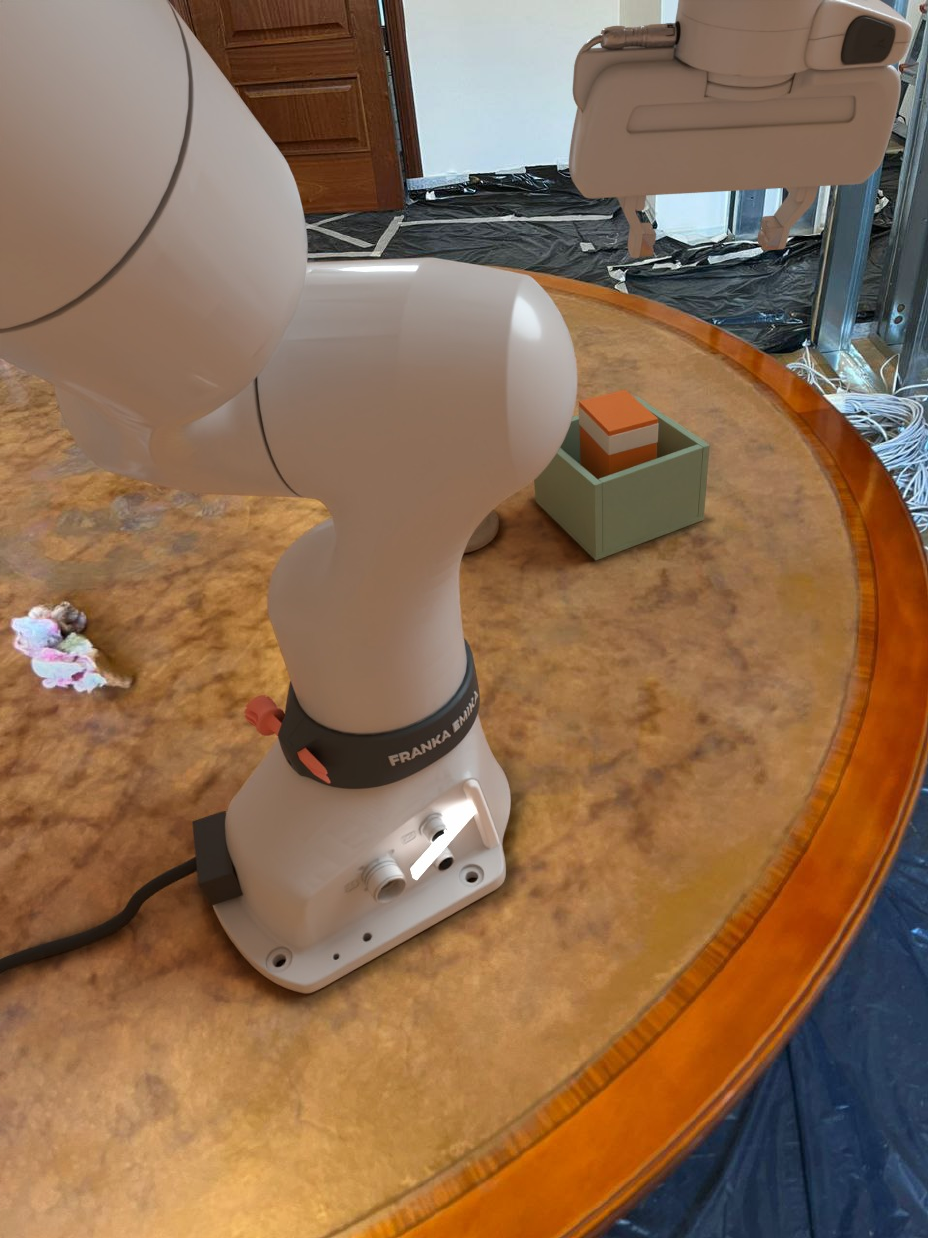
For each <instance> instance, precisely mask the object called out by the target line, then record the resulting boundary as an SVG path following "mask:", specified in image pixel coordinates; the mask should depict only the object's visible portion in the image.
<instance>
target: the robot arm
mask: <svg viewBox="0 0 928 1238" xmlns="http://www.w3.org/2000/svg"><path fill="white" fill-rule="evenodd" d="M675 15H676V16H675V22H665V23H654V24H653V23H652V24H645V25H641V26H640V25H639V26H629V27H626V26H624V25H612V26H607V27H604V28H602V29H601V31H600V34H598V35H596V36H593V37H591V38H590V39H589V40H587V41H586V42H585V43H584V44H583V45H582V47H581V48H580V50H579V51H578V53H577V55H576V57H575V60H574V64H573V77H572V97H573V101H574V104H575V105H576V107H577V108H576V112H575V117H574V122H573V127H572V132H571V139H570V146H569V154H568V170H569V175H570V178H571V181H572V183H573V184H574V186H575V187H576V188H577V190H578V191H579V193H581V195H582V196H583V197H584V198H585V199H605V198H606V199H607V198H617V201H618V203H619V205H620V207H621V210H622V212H623V215H624V217H625V219H626V220H627V223H628V225H629V230H628V239H627V251H628V254H629V256H630V258H631V259H638V258H652V257H653V256H654V252H655V249H654V245H656V240H657V233H656V230H655V229H654V228H653V227H654V226H653V224H652V222H641V220H640V219H639V216H638V214H637V213H636V211H637V212H638V211H639V212H642V211H644V210H645V206H646V200H647V196H660V195H681V194H699V193H701V194H702V193H717V192H738V191H754V190H755V191H756V190H757V191H758V190H771V189H772V190H776V189H785V190H786V191H787V192H788V193H789V194H788V195H787V196H786V197H785V199H784V200H783V202H782V203H781V204H780V206H779V207H778V209H777V210H776V211H775V213H774V214H773V215H766V216H765V215H764V216H763V215H762V217H761V221H760V225H759V226H760V228H761V229H760V230H759V231H758V233H757V244H758V245H759V246H760V247H761V250H762V251H775V250H776V251H777V250H785V248H786V246H787V243H788V239H789V235H790V232H791V228H792V227H794V226H795V224H796V223H798V221H799V220H800V219H801V218H802V216H803V215H804V214H805V213H806V212H807V211H808V210H809V209H810V207H811V206H812V205H813V204H814V203H815V201H816V198H817V195H818V191H819V188H820V187H827V186H828V187H830V186H848V185H849V186H850V185H861V184H864V183H865V182H866V181H867V180H868V179H869V178H870V177H871V176H872V175H873V174H875V172H876V171H877V170H878V169H879V168H880V167H881V164H882V162H883V161H884V157H885V154H886V152H887V149H888V145H889V142H890V139H891V135H892V133H893V128H894V124H895V121H896V117H897V112H898V108H899V102H900V98H901V90H902V82H901V77H900V76H901V75H900V73H899V72H898V70H897V69H896V67H895V66H894V65H896V64H897V63H899V62H901V60H902V59H903V58H904V57H905V55H906V53H907V51H908V49H909V48H910V47H909V46H910V43H911V40H912V37H913V26H912V25H911V23H910V22H908V20H907V19H906V18H905V17H903V15H901V14H900V13H899V12H898V11H897V10H895V8H893V7H891V6H890V5H888V4H887V3H885V2H884V1H882V0H678V2H677V9H676V14H675ZM596 45H600V47H594V46H596ZM306 223H307V222H306V219H305V214H304V209H303V204H302V199H301V196H300V192H299V189H298V185H297V182H296V180H295V177H294V175H293V172H292V171H291V168H290V165H289V163H288V162H287V159H286V158H285V156H284V155H283V154H282V152H281V151H280V149H279V147H278V146H277V145H276V144H275V142H274V141H273V140H272V139H271V137H270V135H269V134H268V133H267V132H266V131H265V129H264V128H263V126H262V125H261V123H260V122H259V120H258V119H257V118H256V116H255V115H254V114H253V113H252V111H251V110H250V109H249V107H248V106H247V105H246V103H245V102H244V101H243V99H242V98H241V96H240V94H238V92H237V91H236V90H235V88H234V86H233V85H232V84H231V83H230V82H229V79H227V77H226V76H225V75H224V73H223V72H222V71H221V69H220V68H219V66H218V65H217V64H216V62H215V61H214V60H213V59H212V57H211V56H210V54H209V53H208V51H207V50H206V49H205V48H204V46H203V44H201V42H200V41H199V40H198V38H197V37H196V36H195V34H194V33H193V32H192V30H191V29H190V28H189V26H188V25H187V23H186V22H185V21H184V19H183V18H182V16H181V15H180V14H179V12H178V11H177V10H176V8H175V7H174V5H172V3H171V1H169V0H0V359H1V360H3V361H5V362H7V363H9V364H11V365H13V366H14V367H17V368H18V369H21V370H23V371H24V372H26V373H29V374H30V375H33V376H34V377H36V378H37V379H40V380H43V381H44V382H47V383H48V384H51V385H52V386H53V389H54V394H55V399H56V402H57V405H58V409H59V412H60V415H61V417H62V419H63V422H64V425H65V426H66V429H67V430H68V432H69V434H70V436H71V437H72V438H73V440H74V442H75V443H76V445H77V446H78V448H79V449H80V450H81V451H82V453H83V454H84V455H85V456H86V457H87V458H88V459H89V460H90V461H91V462H92V463H93V464H95V465H96V466H98V467H99V468H101V469H102V470H104V471H106V472H108V473H111V474H114V475H118V476H121V477H124V478H128V479H130V480H131V479H132V480H134V481H139V482H142V483H146V484H150V485H154V486H158V487H162V488H166V489H170V490H171V489H172V490H175V491H181V492H185V493H190V494H194V495H213V496H215V495H216V496H242V497H266V498H267V497H268V498H269V497H271V498H294V499H295V498H299V499H309V500H316V501H318V502H320V503H321V504H322V505H323V506H324V507H325V508H326V509H327V510H328V512H329V514H330V517H328V518H326V519H324V520H322V521H320V522H319V523H316V524H315V525H313V526H311V528H310V529H308V530H307V531H305V532H304V533H302V534H301V535H300V536H299V537H298V538H297V539H295V540H294V541H292V543H291V544H290V545H289V546H287V548H286V549H285V550H284V551H283V553H282V554H281V555H280V557H279V558H278V560H277V562H276V563H275V566H274V568H273V570H272V572H271V575H270V579H269V583H268V588H267V597H266V610H267V611H266V612H267V615H268V619H269V622H270V625H271V628H272V631H273V634H274V635H275V640H276V642H277V646H278V648H279V651H280V654H281V658H282V660H283V663H284V665H285V666H284V667H285V668H286V671H287V675H288V677H289V680H290V681H289V686H288V690H287V696H286V702H285V710H283V709H282V708H279V707H277V704H276V702H275V701H274V699H272V698H271V697H270V696H268V695H267V696H266V695H264V694H261V695H257V696H255V697H253V698H252V699H250V700H249V702H248V703H247V704H246V705H245V709H244V711H243V712H244V718H245V719H246V721H247V723H249V724H250V725H252V726H253V727H254V728H256V731H257V732H258V733H259V734H260V735H261V736H264V737H268V736H269V737H270V736H274V735H276V736H277V738H276V739H275V741H274V743H273V744H272V745H271V747H270V748H269V749H268V750H267V752H266V754H265V755H263V757H262V759H261V760H260V762H259V763H258V765H256V767H255V769H254V770H253V771H252V772H251V774H250V776H249V777H247V779H246V781H245V782H244V783H243V785H242V786H240V787H241V788H239V790H238V791H237V793H236V794H235V795H234V796H233V797H232V799H231V801H230V802H229V804H228V807H227V809H226V810H227V811H226V810H222V811H219V812H216V813H213V814H210V815H207V816H204V817H201V818H198V819H195V820H193V821H192V822H191V823H192V824H191V825H192V833H193V843H194V854H195V856H194V857H192V858H190V859H188V860H187V861H185V862H183V863H180V864H179V865H177V866H175V867H172V868H171V869H169V870H167V871H164V872H163V873H161V874H159V875H157V876H156V877H154V878H152V879H151V880H149V881H148V882H146V883H145V884H144V885H143V886H141V887H139V889H137V890H136V891H135V892H134V893H133V894H132V896H131V897H130V899H128V901H127V904H126V905H125V907H124V908H123V909H122V911H120V912H119V913H118V914H116V915H115V916H113V917H111V918H110V919H108V920H107V921H104V922H103V923H102V924H98V925H97V926H94V927H92V928H89V929H87V930H84V931H82V932H79V933H76V934H73V935H70V936H66V937H63V938H59V939H56V940H52V941H49V942H44V943H42V944H37V945H35V946H32V947H29V948H26V949H23V950H19V951H17V952H14V953H11V954H9V955H6V956H4V957H2V958H0V975H1V974H4V973H5V972H8V971H10V970H12V969H15V968H17V967H21V966H23V965H26V964H29V963H31V962H32V963H33V962H34V961H38V960H41V959H45V958H47V957H51V956H56V955H58V954H61V953H66V952H68V951H73V950H75V949H78V948H81V947H84V946H87V945H89V944H92V943H95V942H97V941H99V940H100V941H101V940H102V939H105V938H106V937H108V936H111V935H112V934H114V933H116V932H117V931H119V930H120V929H122V928H124V927H126V926H127V925H128V924H129V923H131V921H133V920H134V919H135V917H136V916H137V914H138V913H139V910H140V909H141V907H142V906H143V904H144V903H146V902H147V900H149V899H150V898H152V897H153V896H154V895H156V894H157V893H159V892H160V891H162V890H163V889H165V888H166V887H169V886H170V885H172V884H174V883H176V882H178V881H181V880H182V879H185V878H186V877H188V876H190V875H192V874H194V873H197V875H196V876H197V884H198V886H199V889H200V890H201V891H202V894H203V895H204V897H205V899H206V901H207V902H208V905H209V906H210V907H213V910H214V914H215V916H216V917H217V919H218V921H219V923H220V925H221V927H222V928H223V930H224V932H225V933H226V935H227V936H228V938H229V941H231V943H232V944H233V945H234V946H235V948H236V949H237V950H238V952H239V953H240V954H241V955H242V957H243V958H244V959H245V960H246V961H247V962H248V963H249V964H250V965H251V966H252V967H253V968H254V969H255V970H256V971H257V972H258V973H260V974H261V975H262V976H263V977H265V978H266V979H268V981H271V982H273V984H276V985H277V986H280V987H282V988H284V989H287V990H290V991H293V992H297V993H301V994H312V993H315V992H317V991H319V990H321V989H322V988H325V987H327V986H328V985H330V984H331V983H334V982H335V981H337V980H340V979H341V978H342V977H343V978H344V976H346V975H348V974H350V973H351V972H353V971H354V970H356V969H358V968H360V967H362V966H363V965H365V964H367V963H370V962H371V961H372V960H374V959H376V958H378V957H380V956H382V955H383V954H385V953H387V952H389V951H390V950H392V949H394V948H395V947H397V946H399V945H401V944H402V943H404V942H406V941H408V940H409V939H411V938H413V937H415V936H416V935H418V934H420V933H422V932H423V931H425V930H427V929H429V928H431V927H432V926H435V925H436V924H438V923H440V922H441V921H443V920H445V919H446V918H448V917H450V916H452V915H454V914H456V913H457V912H459V911H461V910H463V909H464V908H466V907H468V906H470V905H471V904H473V903H475V902H477V901H478V900H480V899H482V898H484V897H485V896H487V895H489V894H491V893H493V892H494V891H496V890H498V889H499V888H500V887H501V886H503V884H504V882H505V880H506V877H507V863H506V857H505V852H504V848H503V843H504V836H505V833H506V830H507V826H508V824H509V819H510V814H511V808H512V807H511V806H512V805H511V804H512V795H511V789H510V785H509V781H508V778H507V776H506V774H505V771H504V770H503V768H502V766H501V765H500V763H499V762H498V761H497V759H496V757H495V756H494V754H493V752H492V750H491V747H490V745H489V743H488V741H487V740H488V739H487V737H486V734H485V732H484V729H483V725H482V722H481V719H480V715H479V710H480V704H481V695H480V688H479V681H478V675H477V669H476V664H475V660H474V655H473V654H474V653H473V651H472V648H471V646H470V644H469V642H468V640H467V639H466V638H465V636H464V629H463V628H464V627H463V619H462V609H461V607H462V606H461V589H460V588H461V587H460V586H461V585H460V569H461V564H462V559H463V556H464V554H465V553H464V550H465V548H466V546H467V543H468V541H469V539H470V537H471V536H472V534H473V533H474V531H475V529H476V528H477V527H478V525H479V524H480V523H481V522H482V521H483V519H484V518H485V517H486V516H487V515H488V514H489V513H490V512H491V511H492V510H494V509H496V508H497V507H498V506H500V505H501V504H502V503H503V502H505V501H506V500H507V499H509V498H510V497H512V496H513V495H516V494H517V493H518V492H520V491H522V490H524V489H526V488H528V487H529V486H530V485H531V484H532V483H533V482H534V480H535V479H536V478H537V477H538V476H539V475H540V474H541V473H542V472H543V471H544V470H545V468H546V467H547V466H548V465H549V464H550V462H551V461H552V459H553V458H554V457H555V455H556V454H557V452H558V450H559V448H560V447H561V445H562V443H563V441H564V439H565V437H566V434H567V432H568V429H569V427H570V424H571V420H572V417H574V413H575V409H576V405H577V404H576V402H577V396H578V379H579V378H578V364H577V358H576V353H575V347H574V343H573V341H572V337H571V334H570V331H569V328H568V326H567V324H566V322H565V320H564V319H565V318H564V317H563V316H562V313H561V312H560V310H559V309H558V307H557V305H556V304H555V301H553V299H552V297H550V295H549V294H548V293H547V291H546V290H545V289H544V287H542V286H541V285H540V284H539V283H538V281H536V280H535V279H534V278H533V277H532V276H531V275H528V274H524V273H519V272H514V271H510V270H505V269H500V268H495V267H491V266H485V265H481V264H475V263H468V262H462V261H456V260H449V259H444V258H437V257H407V258H383V259H359V260H358V259H357V260H356V259H355V260H330V261H308V255H309V253H308V252H309V244H308V243H309V242H308V231H307V224H306ZM463 553H464V554H463ZM472 878H473V879H474V878H475V879H476V880H475V881H474V882H473V881H472V882H469V881H468V880H469V879H472ZM284 960H285V962H284V963H283V964H282V965H281V966H277V964H278V963H279V962H280V961H284Z"/></svg>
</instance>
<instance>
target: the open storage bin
mask: <svg viewBox="0 0 928 1238" xmlns="http://www.w3.org/2000/svg"><path fill="white" fill-rule="evenodd" d="M633 397H634V398H635V399H636V400H638V401H639V402H640V403H641V404H642V405H643V406H644V407H645V408H647V409H648V410H649V411H650V412H651V413H652V414H653V415H654V416H656V417H657V418H658V442H657V457H656V459H654V460H651V461H648V462H646V463H643V464H640V465H637V466H634V467H631V468H628V469H626V470H623V471H620V472H617V473H614V474H611V475H608V476H605V477H603V478H600V479H597V478H595V477H594V476H593V475H592V474H591V473H589V472H588V471H587V470H586V469H585V468H584V467H582V466H581V461H580V426H579V414H577V415H573V417H572V420H571V424H570V427H569V429H568V432H567V434H566V437H565V439H564V441H563V443H562V445H561V447H560V448H559V450H558V452H557V454H556V455H555V457H554V458H553V459H552V461H551V462H550V464H549V465H548V466H547V467H546V468H545V470H544V471H543V472H542V473H541V474H540V475H539V476H538V477H537V478H536V479H535V480H534V481H533V482H534V483H533V484H534V485H533V486H534V497H535V502H536V504H537V505H538V506H539V507H540V508H542V510H543V511H545V512H546V514H548V515H549V516H550V517H551V518H552V519H553V520H554V521H555V523H557V524H558V526H560V527H561V528H562V529H563V530H564V531H565V532H566V533H567V534H568V535H569V536H570V537H571V538H572V539H573V540H574V541H575V542H576V543H577V544H578V545H579V547H581V548H582V549H583V550H584V551H585V552H587V554H588V555H590V557H591V558H592V559H593V560H594V561H598V560H601V559H604V558H607V557H609V556H612V555H615V554H617V553H620V552H622V551H625V550H628V549H630V548H633V547H636V546H638V545H641V544H644V543H646V542H649V541H652V540H654V539H657V538H660V537H663V536H664V535H668V534H670V533H673V532H676V531H678V530H681V529H684V528H686V527H688V526H689V527H690V526H692V525H694V524H697V523H700V522H702V521H704V520H705V508H706V499H707V497H706V496H707V486H708V485H707V483H708V473H709V461H710V460H709V459H710V447H711V445H710V444H709V443H708V442H706V441H705V440H703V439H702V438H701V437H699V436H698V435H696V434H694V433H692V432H691V431H690V430H688V429H687V428H685V427H684V426H682V425H681V424H680V423H678V422H676V421H675V420H673V419H672V418H671V417H669V416H667V415H666V414H664V413H663V412H661V411H660V410H658V409H657V408H655V407H654V406H653V405H651V404H649V403H648V402H646V401H645V400H643V399H642V398H641V397H639V396H637V395H636V396H633Z"/></svg>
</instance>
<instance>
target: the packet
mask: <svg viewBox="0 0 928 1238" xmlns="http://www.w3.org/2000/svg"><path fill="white" fill-rule="evenodd" d="M634 397H635V396H633V395H632V394H631V393H629V392H628V390H626V389H621V390H617V391H614V392H610V393H605V394H601V395H597V396H593V397H590V398H586V399H582V400H579V401H578V407H577V408H578V415H579V426H580V461H581V466H582V467H584V468H585V469H586V470H587V471H588V472H589V473H591V474H592V475H593V476H594V477H595V478H597V479H600V478H603V477H605V476H608V475H611V474H614V473H617V472H620V471H623V470H626V469H628V468H631V467H634V466H637V465H640V464H643V463H646V462H648V461H651V460H654V459H656V457H657V442H658V418H657V417H656V416H654V415H653V414H652V413H651V412H650V411H649V410H648V409H647V408H645V407H644V406H643V405H642V404H641V403H640V402H639V401H638V400H636V399H635V398H634Z"/></svg>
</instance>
